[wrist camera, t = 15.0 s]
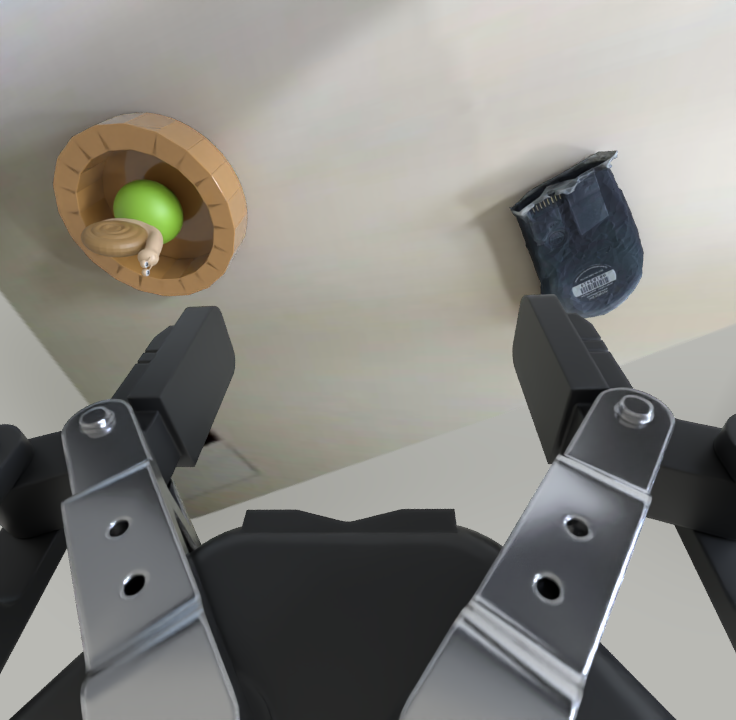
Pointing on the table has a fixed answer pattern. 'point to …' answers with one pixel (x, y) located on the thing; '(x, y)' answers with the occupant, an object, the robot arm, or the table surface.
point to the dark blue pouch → (582, 237)
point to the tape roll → (175, 171)
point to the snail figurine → (137, 223)
